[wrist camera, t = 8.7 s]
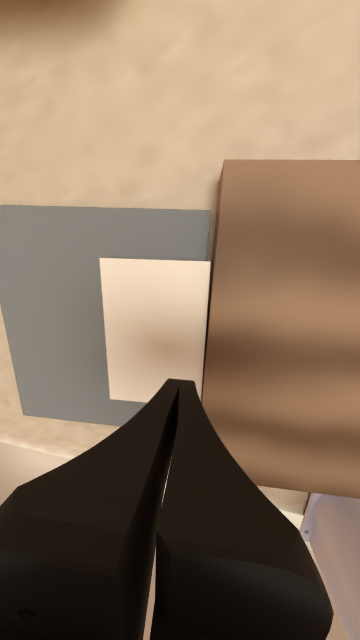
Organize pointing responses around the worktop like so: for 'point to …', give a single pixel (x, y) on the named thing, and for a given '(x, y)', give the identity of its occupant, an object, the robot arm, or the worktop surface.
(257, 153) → the worktop surface
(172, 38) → the worktop surface
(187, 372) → the cream flat block
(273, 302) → the brown wooden flat block
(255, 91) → the worktop surface
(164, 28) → the worktop surface
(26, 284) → the mat
